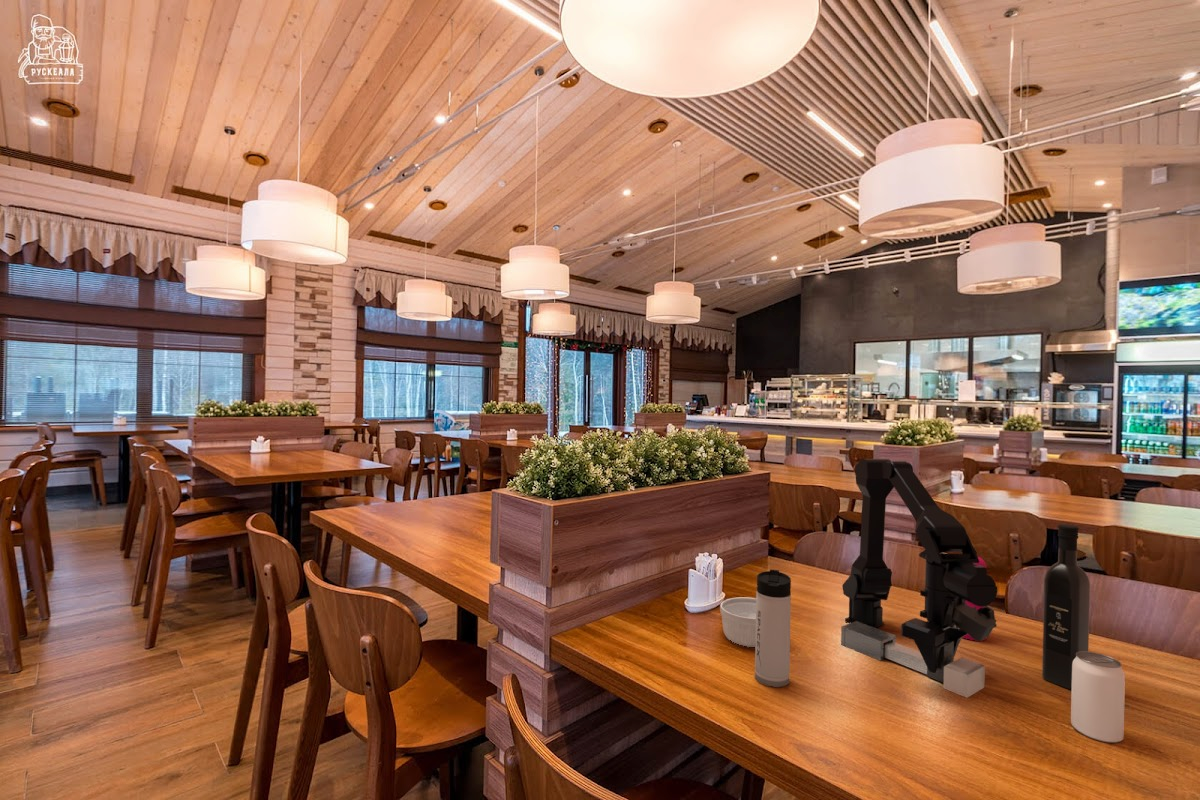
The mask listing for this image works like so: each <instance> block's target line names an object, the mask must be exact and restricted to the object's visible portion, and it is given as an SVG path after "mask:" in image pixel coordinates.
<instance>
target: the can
mask: <svg viewBox="0 0 1200 800" xmlns="http://www.w3.org/2000/svg"><path fill="white" fill-rule="evenodd" d="M1125 675H1126V674H1125V673H1124V670H1123V669H1122V662H1120V661H1119V660H1118V659H1116V658H1114V657H1111V656H1109V655H1105V654H1103V653H1097V652H1094V651H1089V650H1088V651H1080V652H1077V653H1076V658H1075V659H1074V660H1073V663H1072V690H1071V696H1070V697H1071V699H1070V707H1071V708H1070V724H1071V725H1072V727H1073V728H1074V730H1076V731H1077V732H1079V734H1082V735H1083V736H1085V737H1088V738H1089V739H1092V740H1095V741H1099V742H1103V743H1107V744H1108V743H1109V744H1116V743H1120V742H1122V741H1123V740H1124V731H1125V730H1124V729H1125V725H1124V724H1125V699H1126V698H1125V697H1126V696H1125V694H1126V693H1125V691H1126V690H1125V689H1126V685H1125V684H1126V678H1125V677H1126V676H1125Z"/></svg>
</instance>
